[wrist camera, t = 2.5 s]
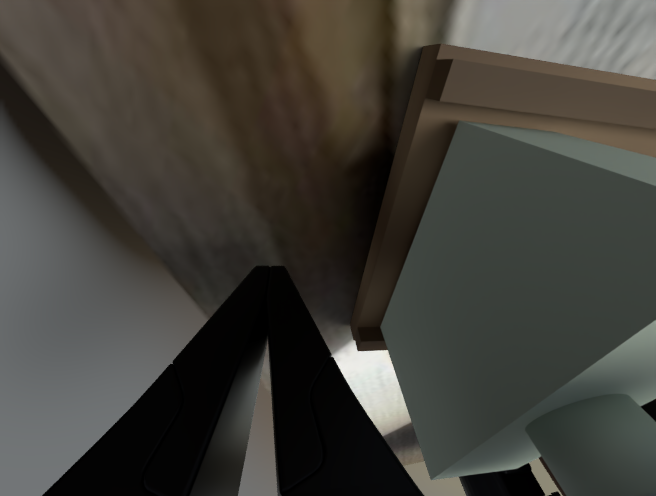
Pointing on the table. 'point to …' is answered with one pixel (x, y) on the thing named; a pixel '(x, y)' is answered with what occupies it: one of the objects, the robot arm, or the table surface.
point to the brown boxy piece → (491, 108)
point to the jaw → (533, 311)
